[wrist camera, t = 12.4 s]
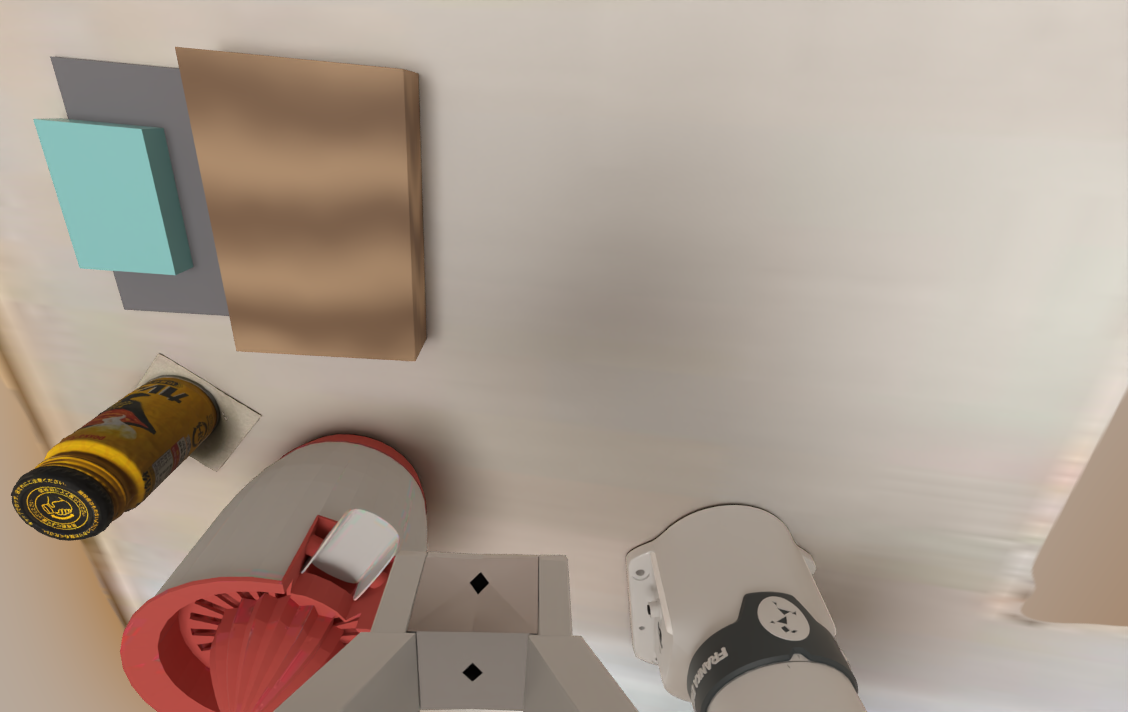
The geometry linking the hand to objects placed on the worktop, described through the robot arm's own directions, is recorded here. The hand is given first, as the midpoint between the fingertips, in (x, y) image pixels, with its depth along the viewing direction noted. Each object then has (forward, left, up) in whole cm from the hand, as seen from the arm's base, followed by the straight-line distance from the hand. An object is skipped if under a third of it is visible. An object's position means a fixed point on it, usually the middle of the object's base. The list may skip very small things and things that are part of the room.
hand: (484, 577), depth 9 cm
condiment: (-17, +26, -31) cm, 44 cm away
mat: (0, +24, -30) cm, 39 cm away
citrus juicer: (-23, +13, -30) cm, 40 cm away
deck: (0, +13, -30) cm, 33 cm away
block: (0, +26, -28) cm, 38 cm away
